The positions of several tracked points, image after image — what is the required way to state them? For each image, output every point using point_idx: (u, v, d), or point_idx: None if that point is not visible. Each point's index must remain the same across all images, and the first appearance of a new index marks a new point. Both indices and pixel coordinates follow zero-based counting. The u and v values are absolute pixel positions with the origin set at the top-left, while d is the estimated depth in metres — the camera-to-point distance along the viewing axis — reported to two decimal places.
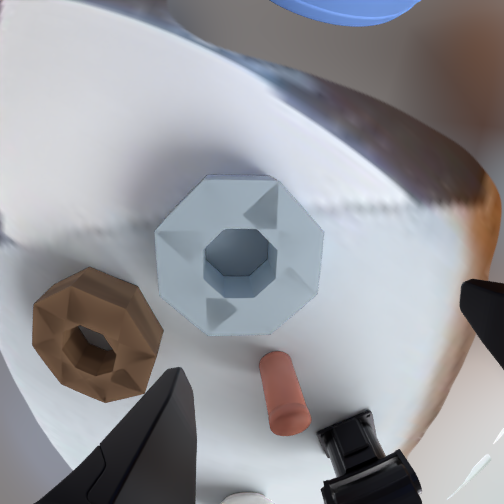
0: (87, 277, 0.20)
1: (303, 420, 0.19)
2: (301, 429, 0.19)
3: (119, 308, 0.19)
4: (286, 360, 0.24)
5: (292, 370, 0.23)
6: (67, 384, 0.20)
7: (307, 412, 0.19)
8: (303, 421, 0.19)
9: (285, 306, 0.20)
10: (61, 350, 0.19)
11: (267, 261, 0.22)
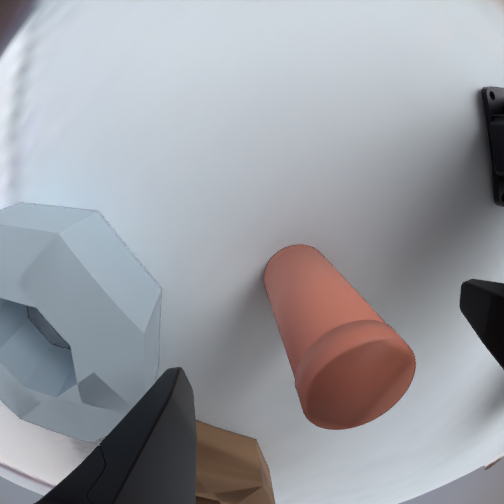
0: None
1: (363, 361, 0.06)
2: (404, 358, 0.06)
3: None
4: (276, 267, 0.12)
5: (289, 271, 0.10)
6: None
7: (338, 348, 0.06)
8: (370, 359, 0.06)
9: (82, 298, 0.09)
10: None
11: None
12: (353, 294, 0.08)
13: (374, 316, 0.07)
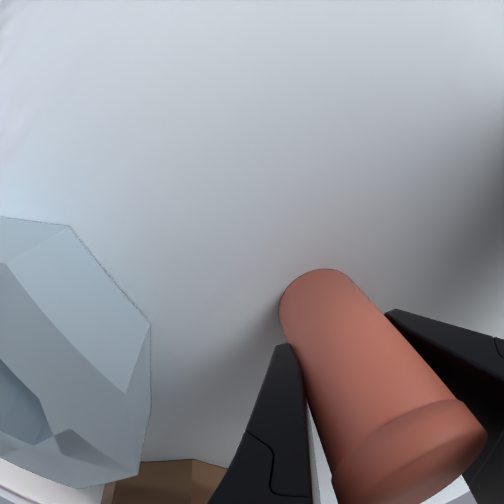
0: (101, 503, 0.11)
1: (432, 461, 0.03)
2: (477, 442, 0.03)
3: None
4: (297, 301, 0.09)
5: (316, 311, 0.08)
6: None
7: (405, 454, 0.03)
8: (441, 457, 0.03)
9: (43, 348, 0.06)
10: None
11: None
12: (409, 352, 0.05)
13: (442, 389, 0.04)
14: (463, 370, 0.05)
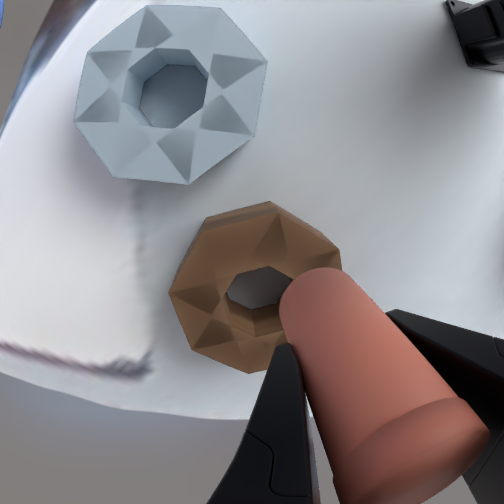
0: (177, 273, 0.19)
1: (434, 460, 0.03)
2: (479, 441, 0.03)
3: (200, 240, 0.16)
4: (297, 299, 0.09)
5: (317, 310, 0.08)
6: None
7: (408, 452, 0.03)
8: (443, 456, 0.03)
9: (229, 40, 0.13)
10: (257, 338, 0.19)
11: (195, 65, 0.16)
12: (411, 350, 0.05)
13: (444, 387, 0.04)
14: (463, 370, 0.05)
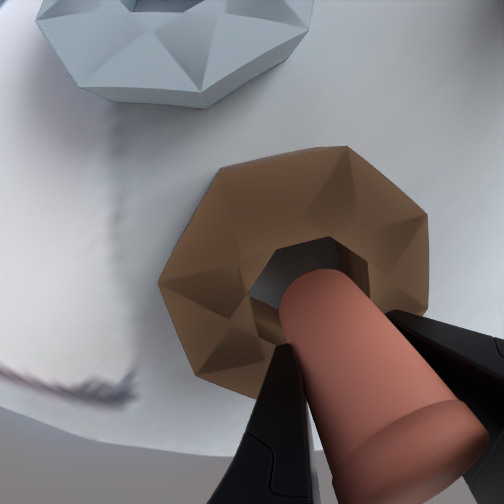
0: (172, 253, 0.12)
1: (434, 462, 0.03)
2: (478, 443, 0.03)
3: (216, 187, 0.09)
4: (297, 301, 0.09)
5: (317, 311, 0.08)
6: None
7: (407, 455, 0.03)
8: (442, 458, 0.03)
9: None
10: None
11: None
12: (410, 352, 0.05)
13: (444, 389, 0.04)
14: (463, 370, 0.05)
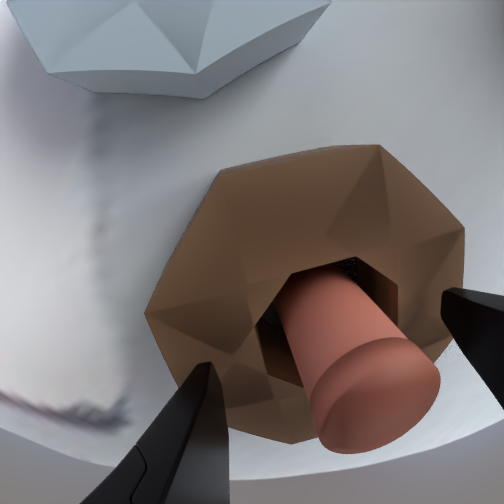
0: (162, 273, 0.10)
1: (387, 384, 0.05)
2: (430, 377, 0.05)
3: (215, 195, 0.07)
4: None
5: (299, 280, 0.10)
6: None
7: (361, 371, 0.05)
8: (395, 382, 0.05)
9: None
10: None
11: None
12: (372, 306, 0.07)
13: (397, 332, 0.06)
14: None
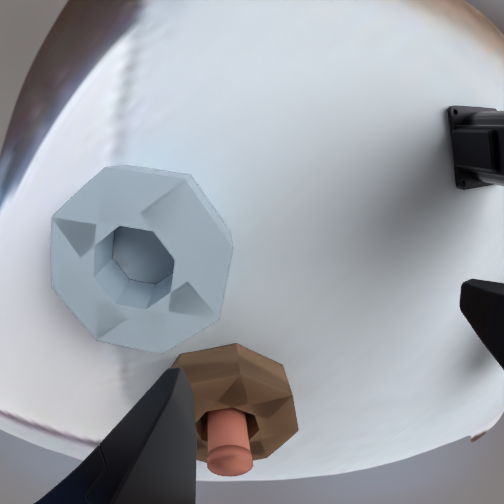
0: None
1: (227, 459, 0.16)
2: (245, 459, 0.16)
3: None
4: None
5: None
6: (267, 453, 0.21)
7: (217, 455, 0.16)
8: (230, 459, 0.16)
9: (194, 223, 0.15)
10: None
11: None
12: (235, 428, 0.18)
13: (237, 441, 0.17)
14: None
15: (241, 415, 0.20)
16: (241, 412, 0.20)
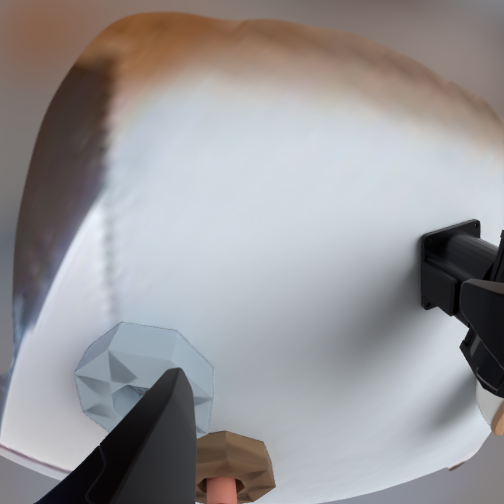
0: None
1: None
2: None
3: None
4: None
5: None
6: (254, 499, 0.25)
7: None
8: None
9: None
10: None
11: None
12: (225, 490, 0.22)
13: (227, 500, 0.21)
14: None
15: (231, 478, 0.23)
16: None
